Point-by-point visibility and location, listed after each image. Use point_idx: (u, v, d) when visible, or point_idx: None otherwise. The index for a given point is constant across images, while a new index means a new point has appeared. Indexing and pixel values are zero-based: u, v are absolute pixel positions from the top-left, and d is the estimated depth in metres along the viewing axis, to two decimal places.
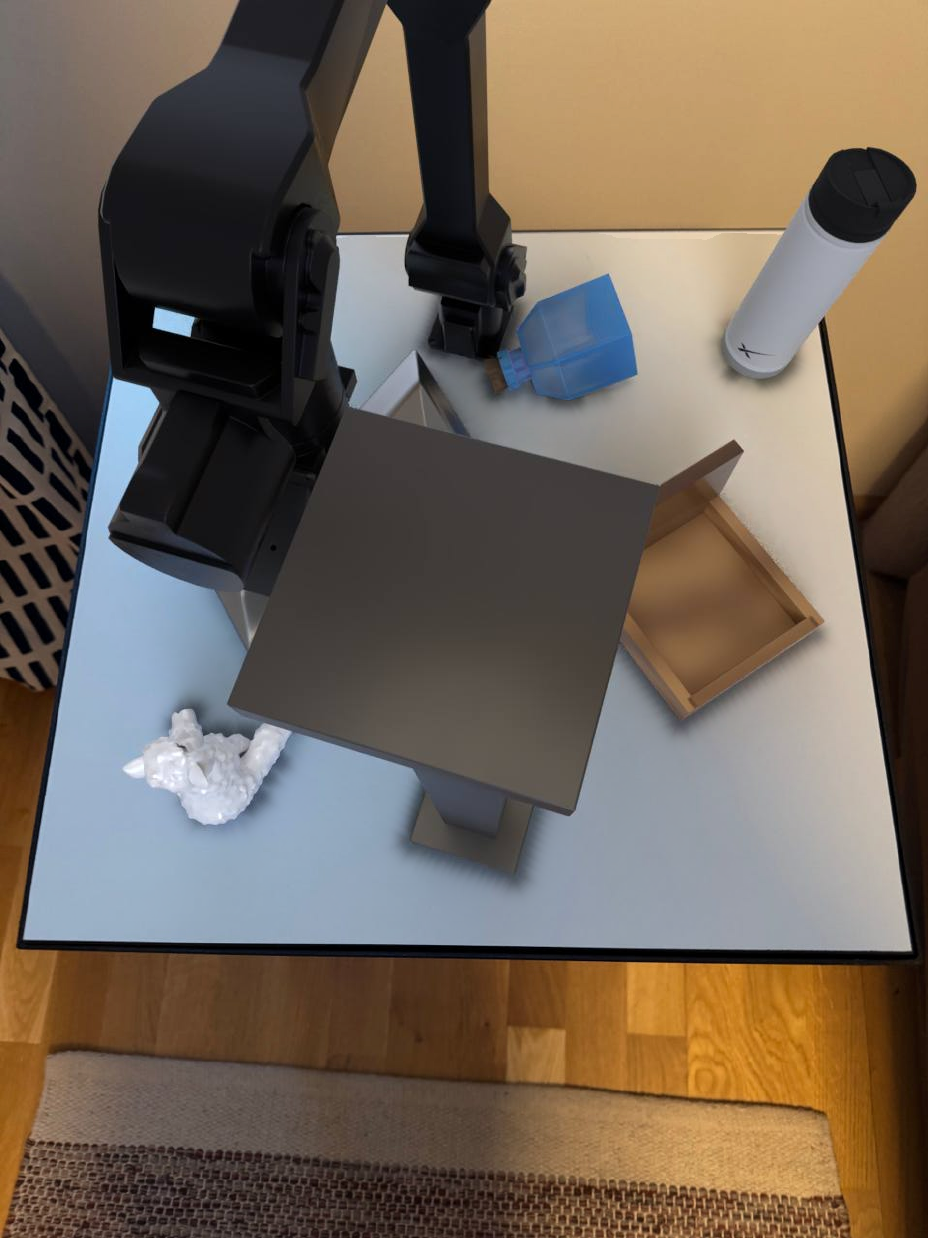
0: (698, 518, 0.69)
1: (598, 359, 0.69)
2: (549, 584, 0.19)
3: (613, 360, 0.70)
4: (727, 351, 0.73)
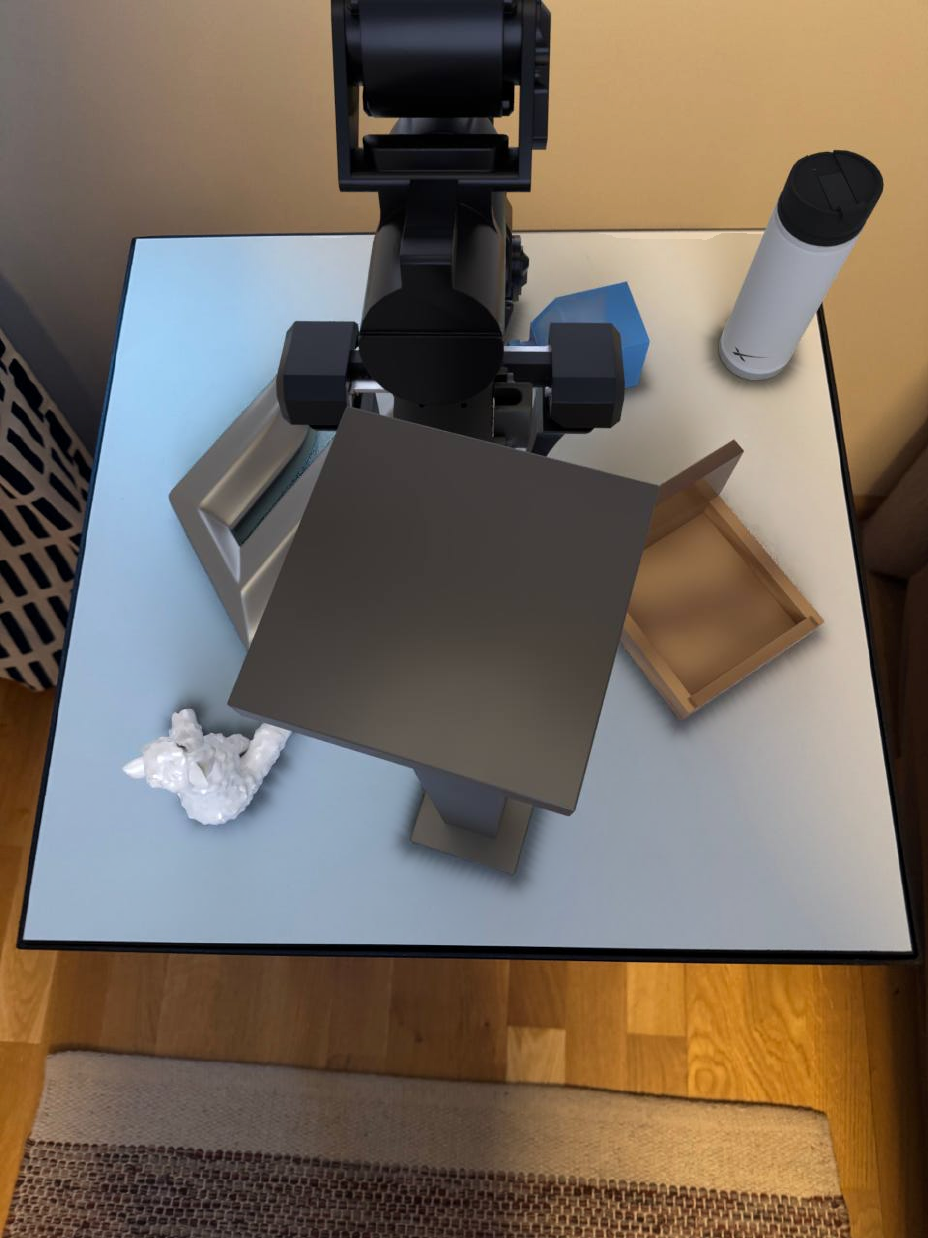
0: (698, 518, 0.69)
1: None
2: (549, 584, 0.19)
3: (623, 366, 0.71)
4: (724, 356, 0.74)
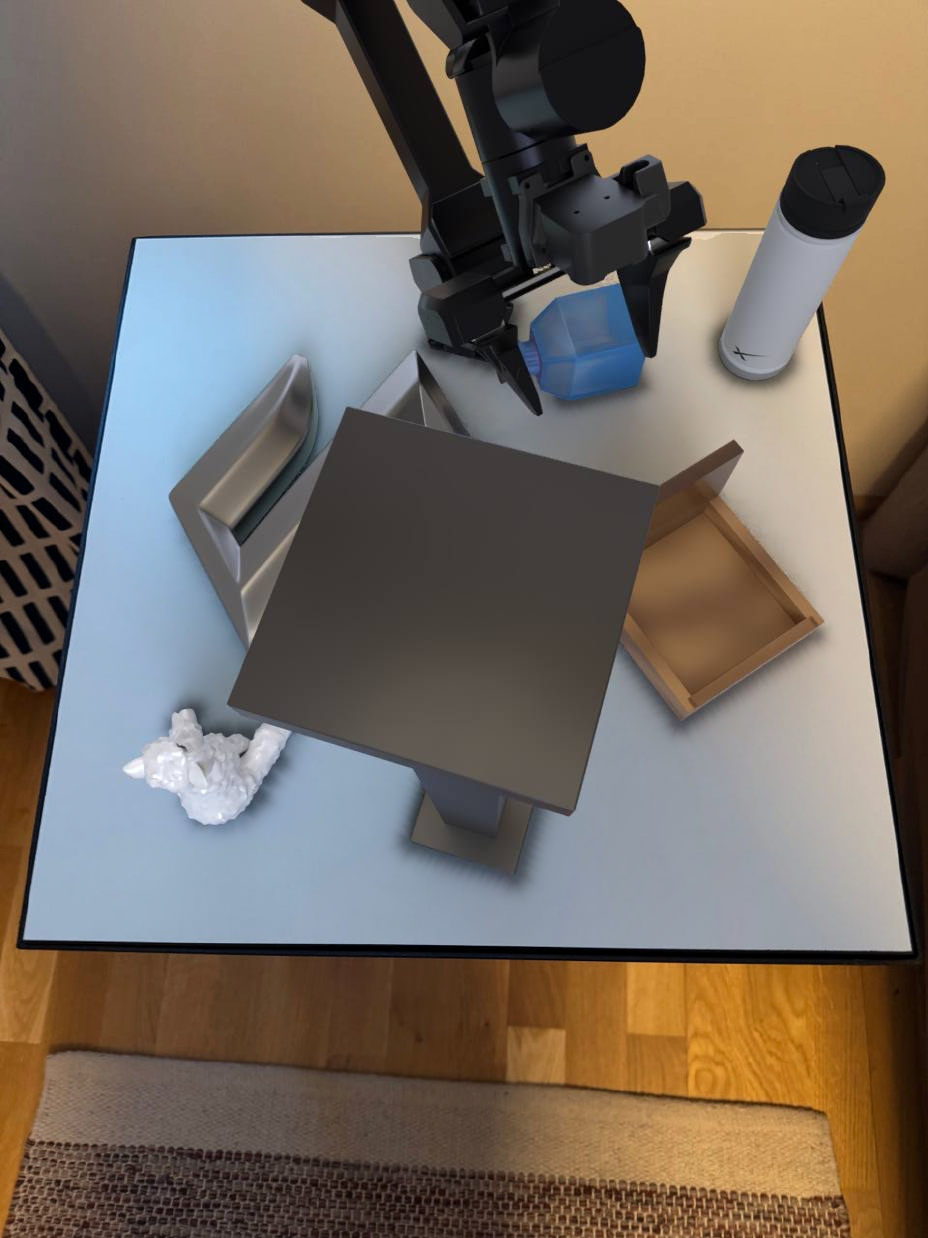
0: (698, 518, 0.69)
1: (611, 362, 0.70)
2: (549, 584, 0.19)
3: (623, 366, 0.71)
4: (724, 355, 0.74)
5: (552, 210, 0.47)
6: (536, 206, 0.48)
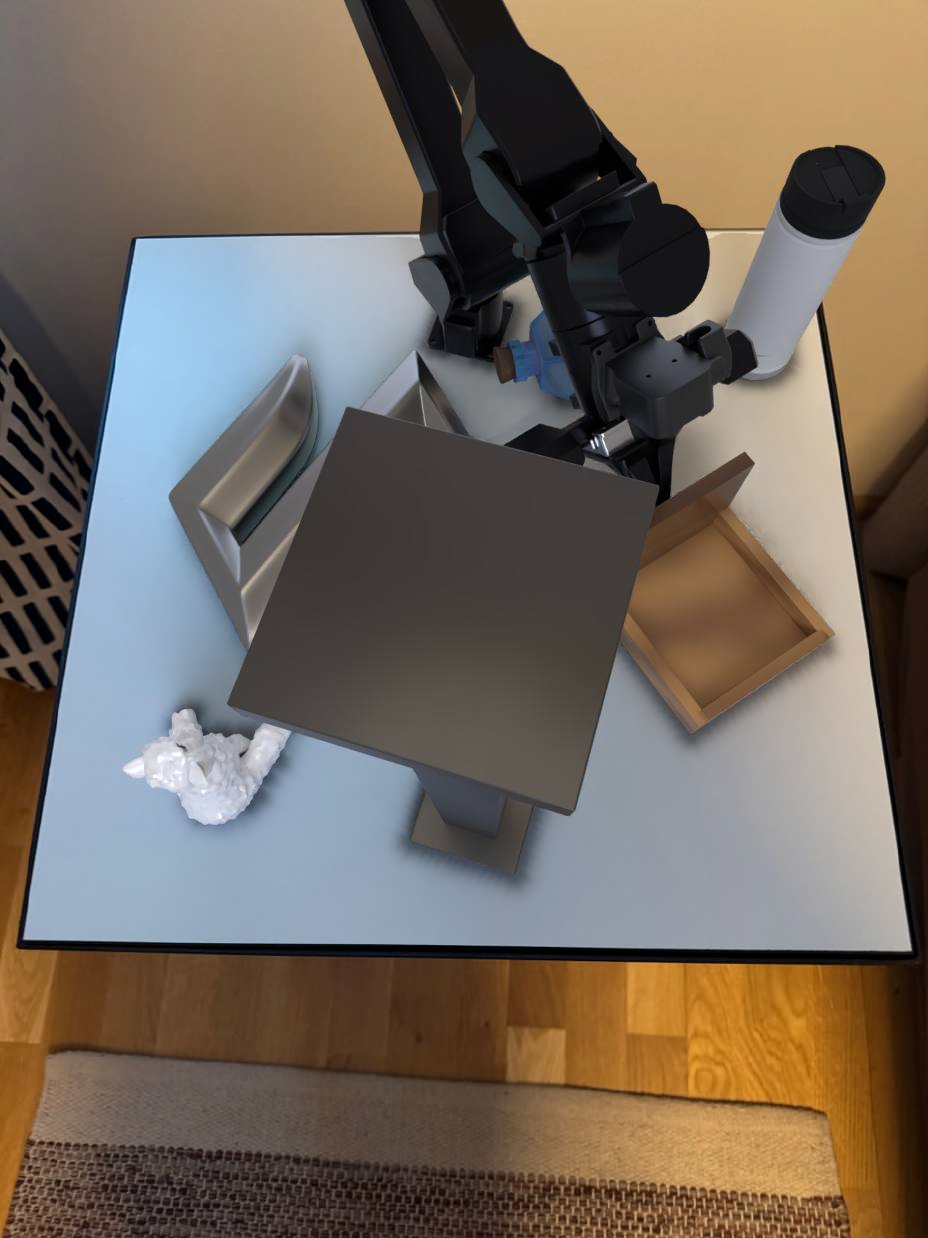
0: (707, 529, 0.68)
1: None
2: (549, 584, 0.19)
3: None
4: None
5: (625, 374, 0.52)
6: (608, 370, 0.53)
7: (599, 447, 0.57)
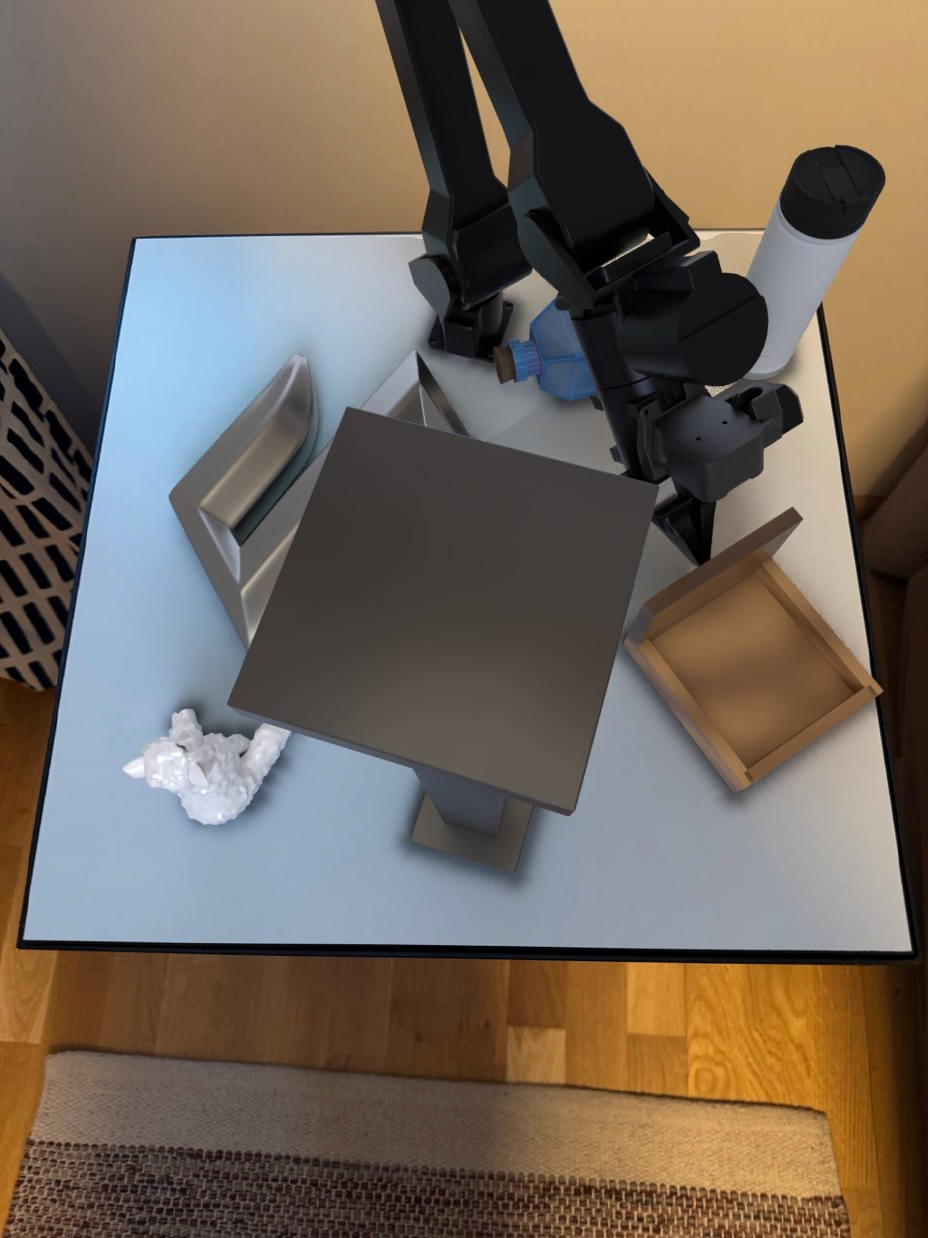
0: (749, 579, 0.67)
1: None
2: (549, 584, 0.19)
3: None
4: None
5: (674, 436, 0.51)
6: (656, 430, 0.52)
7: None
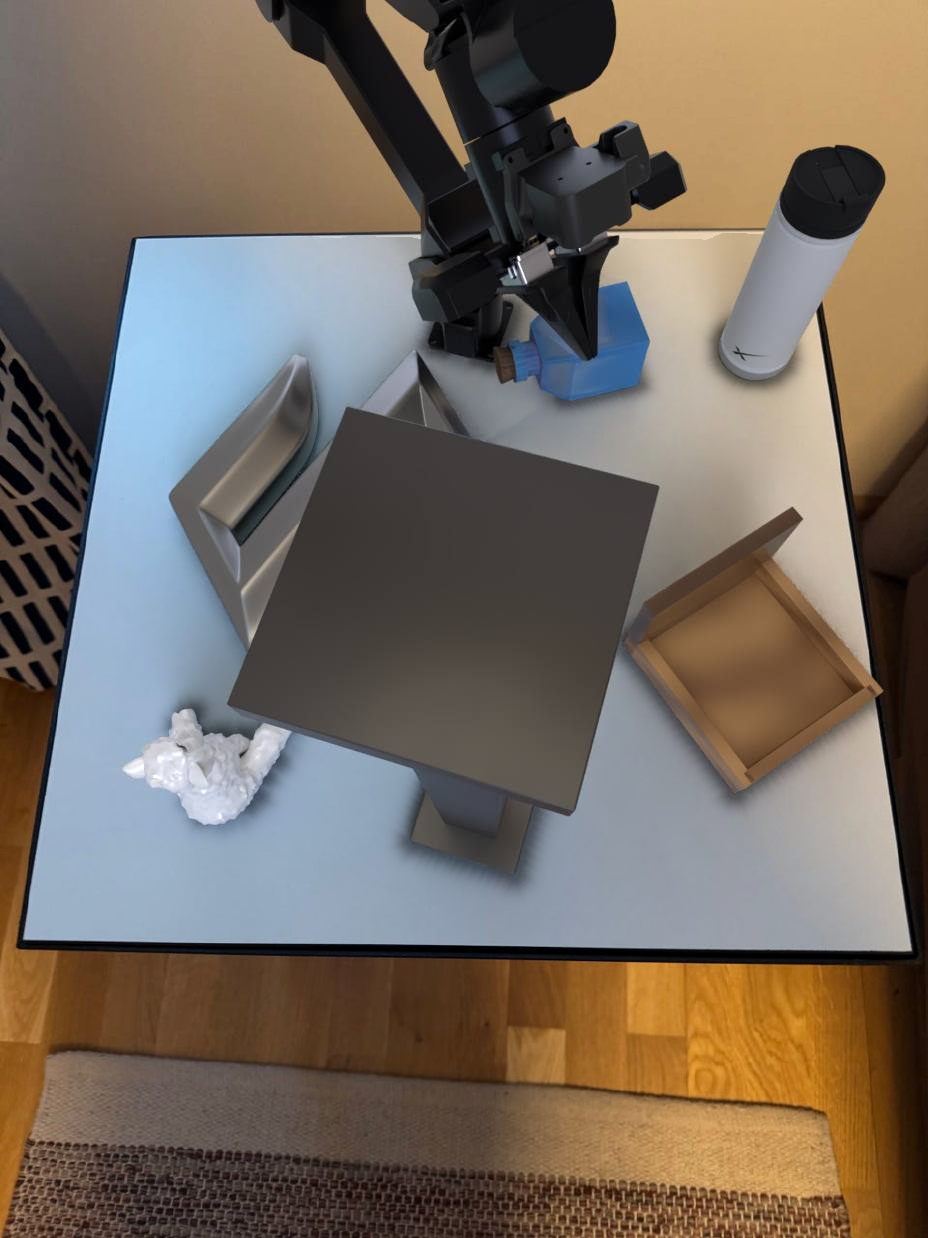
0: (749, 579, 0.67)
1: (611, 362, 0.70)
2: (549, 584, 0.19)
3: (623, 366, 0.71)
4: (724, 355, 0.74)
5: (536, 180, 0.49)
6: (520, 179, 0.50)
7: (517, 275, 0.54)
